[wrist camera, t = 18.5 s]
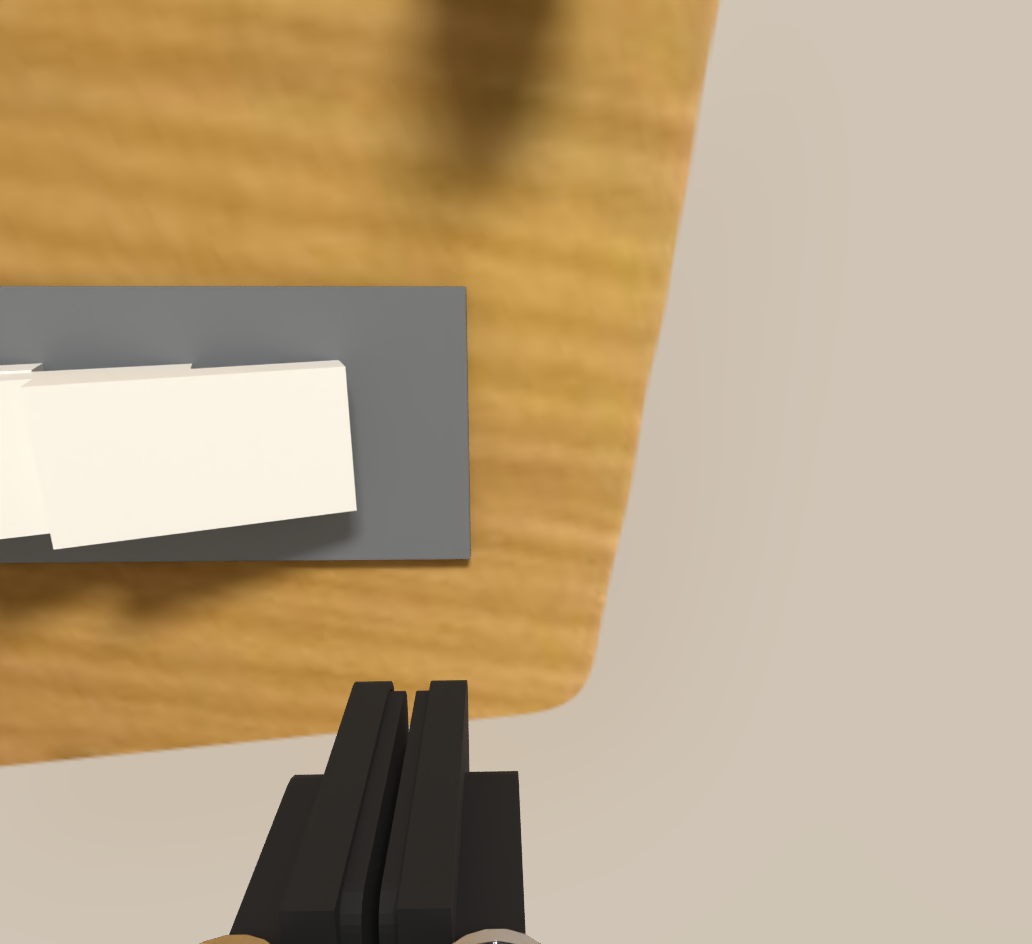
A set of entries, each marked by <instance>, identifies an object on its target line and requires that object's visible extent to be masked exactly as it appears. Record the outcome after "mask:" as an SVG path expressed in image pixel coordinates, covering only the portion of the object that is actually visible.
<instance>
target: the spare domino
mask: <svg viewBox="0 0 1032 944" xmlns="http://www.w3.org/2000/svg"><path fill="white" fill-rule="evenodd" d="M20 392H21V397H22V402H23V406H24V411H25V416H26V421H27V425H28V430H29V435H30V440H31V445H32V449H33V454H34V459H35V464H36V468H37V473H38V478H39V483H40V487H41V492H42V497H43V502H44V506H45V511H46V516H47V521H48V525H49V530H50V535H51V540H52V544H53V549H54V550H55V549H62V548H70V547H78V546H86V545H93V544H101V543H109V542H116V541H124V540H132V539H140V538H147V537H155V536H163V535H171V534H178V533H186V532H194V531H202V530H209V529H217V528H225V527H232V526H240V525H248V524H256V523H263V522H271V521H279V520H287V519H294V518H302V517H310V516H318V515H325V514H333V513H341V512H348V511H356V510H357V508H356V495H355V482H354V470H353V457H352V444H351V432H350V419H349V407H348V394H347V381H346V369H345V366H344V365H343V364H342V363H341V362H340V361H339V360H330V361H313V362H297V363H280V364H263V365H247V366H230V367H213V368H197V369H180V370H163V371H147V372H130V373H113V374H97V375H80V376H64V377H47V378H33V379H32V380H30V381H28V382H27V383H25V384H24V385H22V386H21V387H20Z"/></svg>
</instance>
